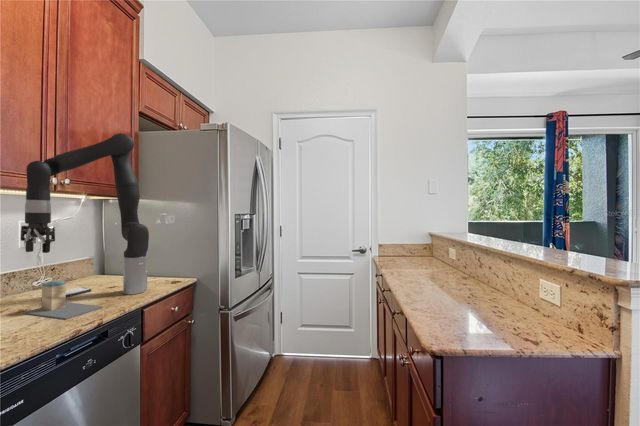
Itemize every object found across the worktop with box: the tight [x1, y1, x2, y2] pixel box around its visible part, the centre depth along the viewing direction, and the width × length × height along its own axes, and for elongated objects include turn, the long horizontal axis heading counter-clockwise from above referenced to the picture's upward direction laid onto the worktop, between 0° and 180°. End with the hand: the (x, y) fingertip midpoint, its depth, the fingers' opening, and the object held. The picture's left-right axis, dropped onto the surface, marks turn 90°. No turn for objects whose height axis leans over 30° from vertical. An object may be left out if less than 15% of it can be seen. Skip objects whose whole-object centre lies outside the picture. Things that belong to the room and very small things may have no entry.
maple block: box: [41, 280, 67, 311], centre depth 116 cm, size 5×5×10 cm
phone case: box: [66, 286, 92, 298], centre depth 137 cm, size 9×2×16 cm
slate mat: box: [22, 301, 104, 320], centre depth 115 cm, size 14×21×1 cm, turn 77°
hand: (37, 252), depth 118 cm, fingers open, 8 cm apart
